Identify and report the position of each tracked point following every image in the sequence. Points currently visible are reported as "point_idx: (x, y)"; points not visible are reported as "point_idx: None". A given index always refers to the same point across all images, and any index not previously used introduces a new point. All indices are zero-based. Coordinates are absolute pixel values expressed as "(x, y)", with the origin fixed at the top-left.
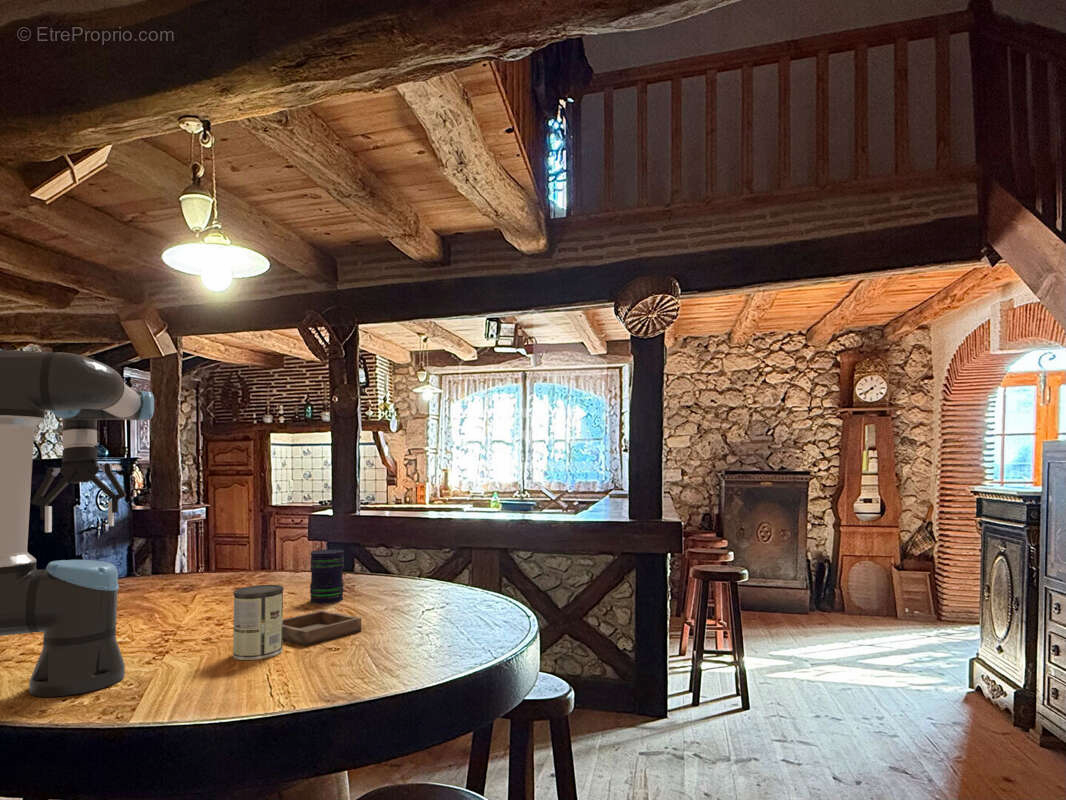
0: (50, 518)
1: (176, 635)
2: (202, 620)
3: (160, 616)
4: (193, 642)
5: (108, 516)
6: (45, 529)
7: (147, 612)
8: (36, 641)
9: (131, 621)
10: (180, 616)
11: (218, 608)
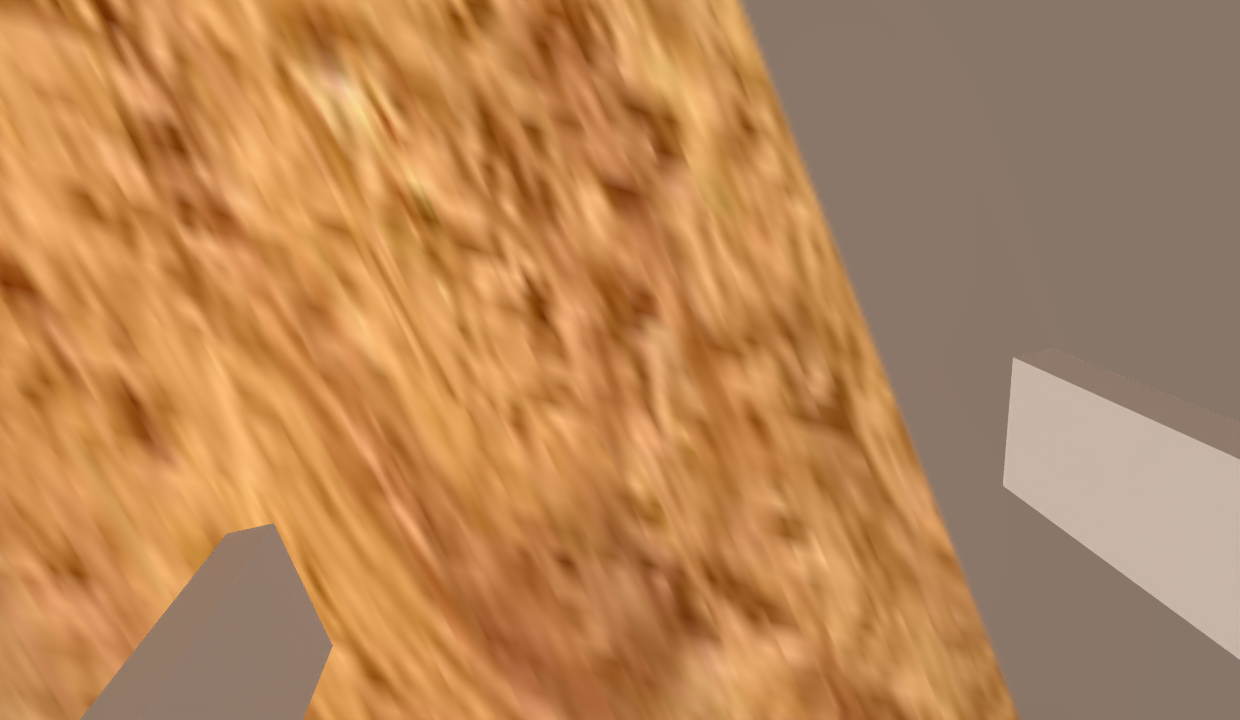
0: (1200, 554)
1: (113, 107)
2: (146, 382)
3: (385, 502)
4: None
5: (183, 647)
6: (1081, 361)
7: (478, 585)
8: (708, 177)
9: (469, 441)
10: (293, 482)
11: None
